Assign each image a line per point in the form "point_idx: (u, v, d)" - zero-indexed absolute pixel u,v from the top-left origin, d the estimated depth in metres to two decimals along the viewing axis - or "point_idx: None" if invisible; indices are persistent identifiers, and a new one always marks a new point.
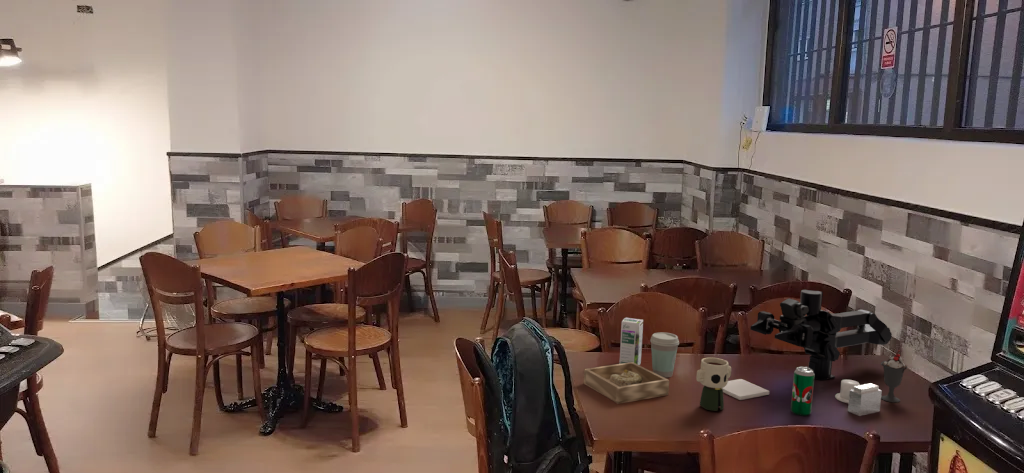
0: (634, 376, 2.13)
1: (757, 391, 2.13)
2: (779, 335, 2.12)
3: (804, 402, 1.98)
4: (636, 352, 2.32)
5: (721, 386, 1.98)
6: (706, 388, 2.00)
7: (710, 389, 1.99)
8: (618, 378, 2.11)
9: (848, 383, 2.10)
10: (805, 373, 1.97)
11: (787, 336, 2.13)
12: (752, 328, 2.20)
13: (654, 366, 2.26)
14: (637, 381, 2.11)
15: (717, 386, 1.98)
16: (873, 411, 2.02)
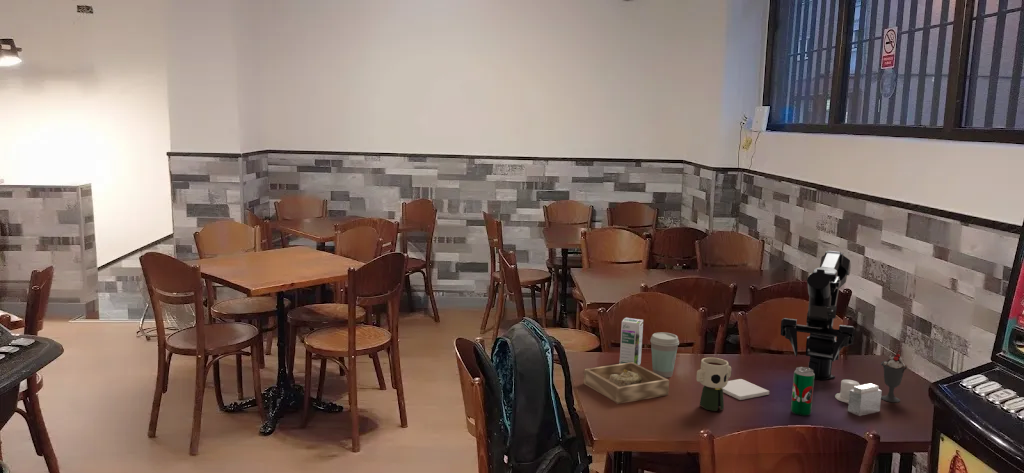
0: (633, 376, 2.13)
1: (757, 391, 2.13)
2: (835, 357, 2.02)
3: (804, 402, 1.98)
4: (636, 352, 2.32)
5: (721, 386, 1.98)
6: (706, 388, 2.00)
7: (710, 389, 1.99)
8: (617, 378, 2.12)
9: (848, 383, 2.10)
10: (805, 373, 1.97)
11: (838, 349, 2.03)
12: None
13: (654, 366, 2.26)
14: (636, 381, 2.11)
15: (717, 386, 1.98)
16: (873, 411, 2.02)
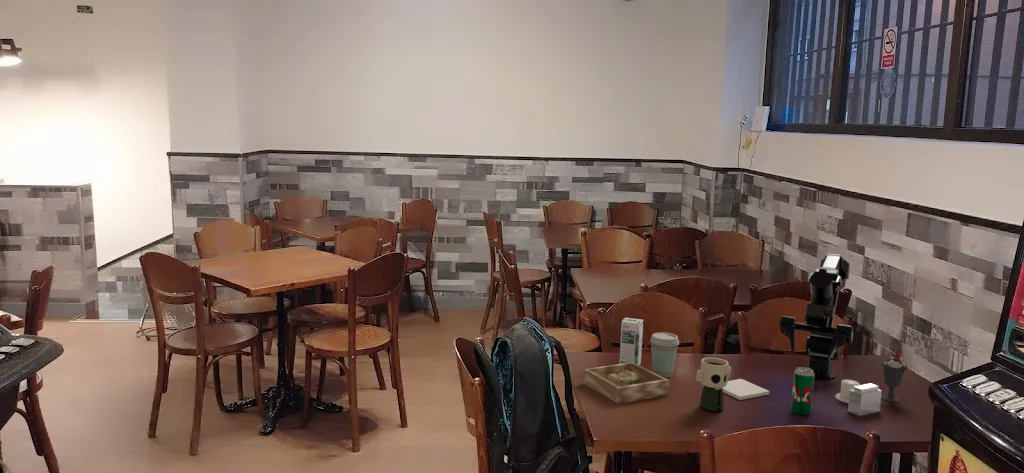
0: (632, 375, 2.14)
1: (757, 391, 2.13)
2: (830, 355, 2.03)
3: (804, 402, 1.98)
4: (636, 352, 2.32)
5: (721, 386, 1.98)
6: (706, 388, 2.00)
7: (710, 389, 1.99)
8: (616, 377, 2.12)
9: (848, 383, 2.10)
10: (805, 373, 1.97)
11: (835, 348, 2.05)
12: (793, 351, 2.08)
13: (654, 366, 2.26)
14: (635, 380, 2.12)
15: (717, 386, 1.98)
16: (873, 411, 2.02)
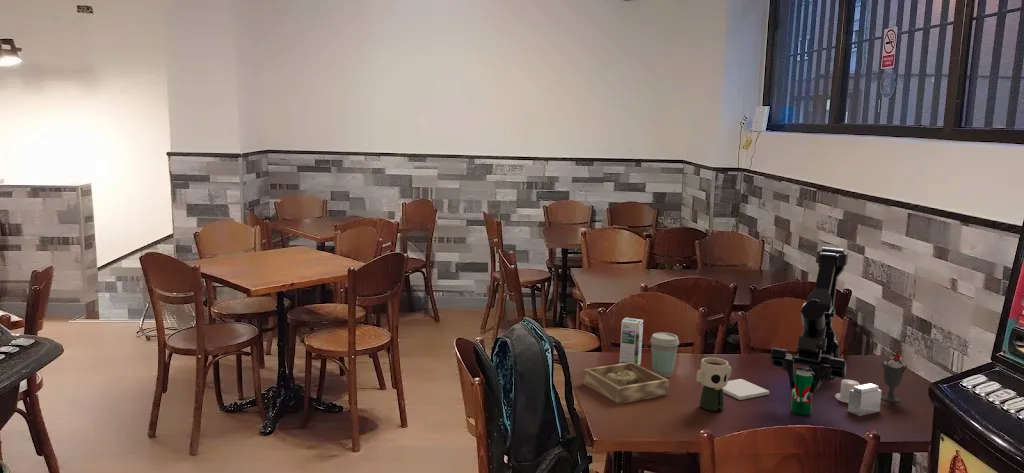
0: (630, 375, 2.14)
1: (757, 391, 2.13)
2: (815, 389, 1.97)
3: (804, 402, 1.98)
4: (636, 352, 2.32)
5: (721, 386, 1.98)
6: (706, 388, 2.00)
7: (710, 389, 1.99)
8: (614, 377, 2.12)
9: (848, 383, 2.10)
10: (805, 373, 1.97)
11: (820, 381, 1.99)
12: (792, 387, 2.00)
13: (654, 366, 2.26)
14: (633, 380, 2.12)
15: (717, 386, 1.98)
16: (873, 411, 2.02)
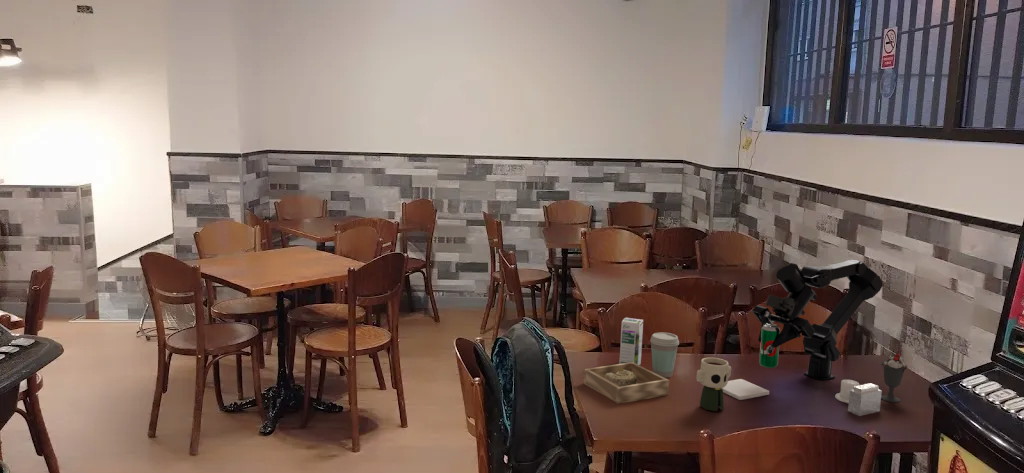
0: (629, 374, 2.14)
1: (757, 391, 2.13)
2: (776, 343, 2.14)
3: (766, 355, 2.16)
4: (636, 352, 2.32)
5: (721, 386, 1.98)
6: (706, 388, 2.00)
7: (710, 389, 1.99)
8: (613, 376, 2.13)
9: (848, 383, 2.10)
10: (767, 328, 2.15)
11: (784, 338, 2.14)
12: (760, 340, 2.19)
13: (654, 366, 2.26)
14: (632, 379, 2.12)
15: (717, 386, 1.98)
16: (873, 411, 2.02)
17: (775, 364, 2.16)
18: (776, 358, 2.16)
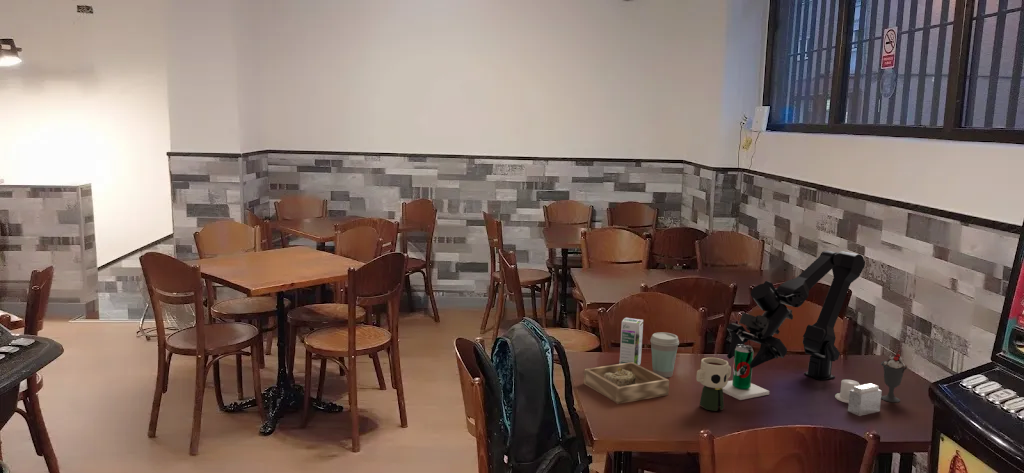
0: (628, 374, 2.15)
1: (757, 391, 2.13)
2: (753, 364, 2.10)
3: (738, 376, 2.14)
4: (636, 352, 2.32)
5: (721, 386, 1.98)
6: (706, 388, 2.00)
7: (710, 389, 1.99)
8: (612, 376, 2.13)
9: (848, 383, 2.10)
10: (740, 349, 2.13)
11: (761, 358, 2.10)
12: (729, 357, 2.18)
13: (654, 366, 2.26)
14: (631, 379, 2.12)
15: (717, 386, 1.98)
16: (873, 411, 2.02)
17: (748, 386, 2.14)
18: (749, 380, 2.14)
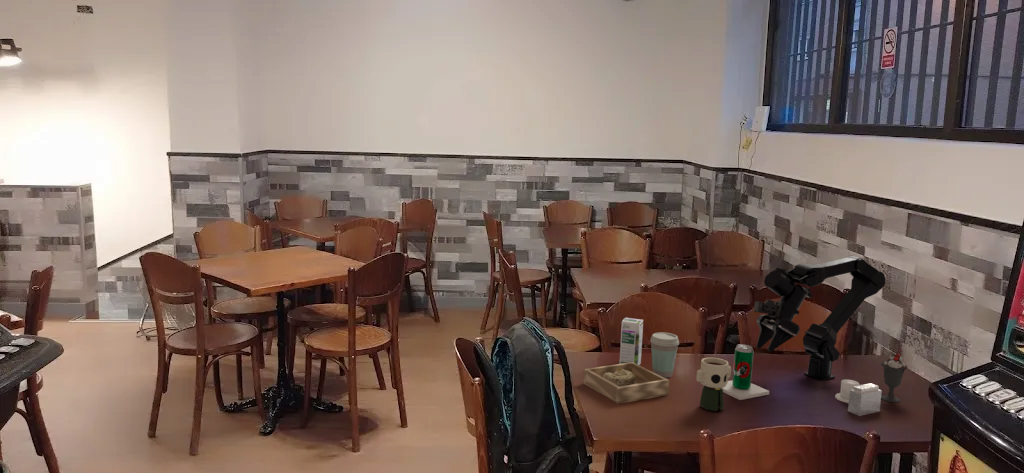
0: (627, 374, 2.15)
1: (757, 391, 2.13)
2: (770, 347, 2.16)
3: (738, 376, 2.14)
4: (636, 352, 2.32)
5: (721, 386, 1.98)
6: (706, 388, 2.00)
7: (710, 389, 1.99)
8: (611, 376, 2.13)
9: (848, 383, 2.10)
10: (740, 349, 2.13)
11: (777, 340, 2.16)
12: (759, 346, 2.26)
13: (654, 366, 2.26)
14: (630, 379, 2.13)
15: (717, 386, 1.98)
16: (873, 411, 2.02)
17: (748, 386, 2.14)
18: (749, 380, 2.14)
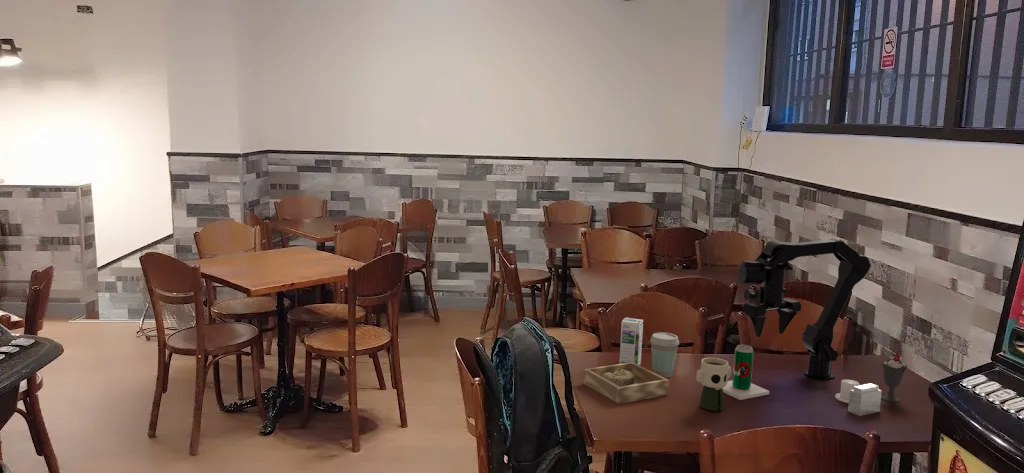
0: (627, 374, 2.15)
1: (757, 391, 2.13)
2: (756, 333, 2.24)
3: (738, 376, 2.14)
4: (636, 352, 2.32)
5: (721, 386, 1.98)
6: (706, 388, 2.00)
7: (710, 389, 1.99)
8: (611, 376, 2.13)
9: (848, 383, 2.10)
10: (740, 349, 2.13)
11: (756, 325, 2.23)
12: (780, 332, 2.28)
13: (654, 366, 2.26)
14: (630, 379, 2.13)
15: (717, 386, 1.98)
16: (873, 411, 2.02)
17: (748, 386, 2.14)
18: (749, 380, 2.14)
